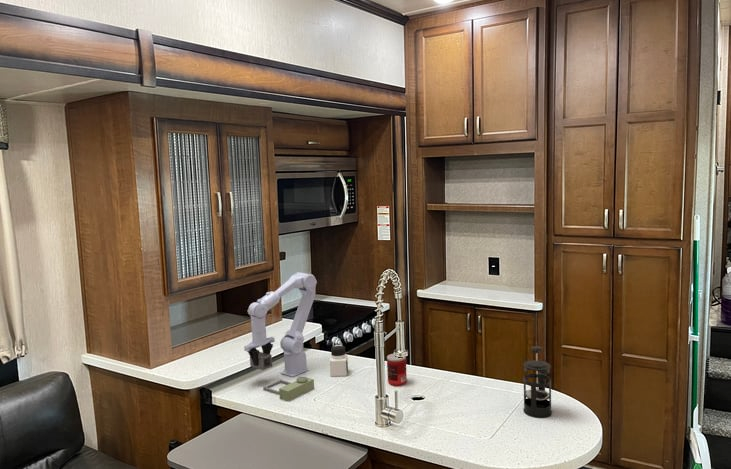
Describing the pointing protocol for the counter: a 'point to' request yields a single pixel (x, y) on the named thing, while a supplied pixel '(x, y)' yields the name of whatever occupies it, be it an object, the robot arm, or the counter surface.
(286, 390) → the grey frame stand
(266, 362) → the chute
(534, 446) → the counter surface
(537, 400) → the french press
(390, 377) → the canned food
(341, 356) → the medicine bottle
